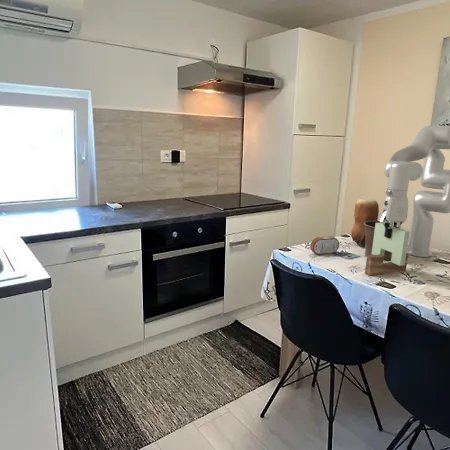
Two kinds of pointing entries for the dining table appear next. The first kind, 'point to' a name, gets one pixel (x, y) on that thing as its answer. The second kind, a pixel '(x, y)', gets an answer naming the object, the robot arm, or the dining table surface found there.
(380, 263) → the walnut slotted plate
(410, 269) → the dining table surface
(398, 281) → the dining table surface
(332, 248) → the tin
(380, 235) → the green slotted plate
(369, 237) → the plant pot
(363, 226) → the butternut squash
